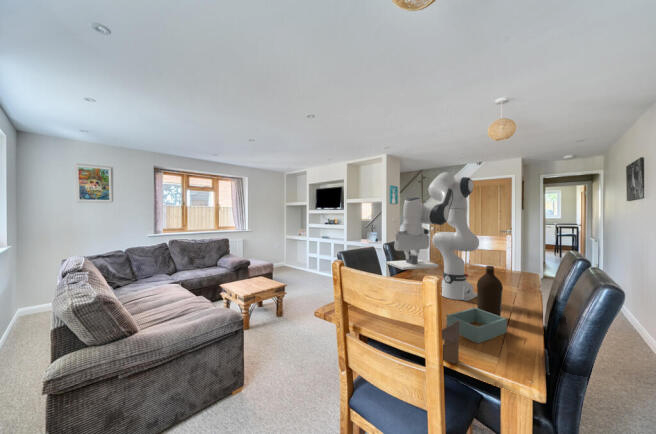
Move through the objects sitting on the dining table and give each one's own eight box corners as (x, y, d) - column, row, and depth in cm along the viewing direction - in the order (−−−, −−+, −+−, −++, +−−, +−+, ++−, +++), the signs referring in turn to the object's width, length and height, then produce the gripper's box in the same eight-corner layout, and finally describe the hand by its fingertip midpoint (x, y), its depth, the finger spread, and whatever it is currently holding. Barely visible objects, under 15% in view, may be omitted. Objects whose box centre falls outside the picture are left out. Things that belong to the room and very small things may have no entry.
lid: (419, 261, 134) (419, 251, 133) (438, 266, 120) (438, 256, 120) (386, 263, 127) (386, 253, 127) (402, 269, 114) (402, 258, 114)
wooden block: (453, 364, 85) (455, 311, 85) (424, 350, 93) (425, 302, 93) (459, 360, 87) (460, 309, 87) (429, 347, 96) (430, 300, 95)
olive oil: (480, 320, 120) (481, 267, 120) (473, 311, 131) (474, 263, 130) (505, 322, 118) (507, 269, 117) (496, 313, 128) (498, 264, 128)
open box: (474, 320, 120) (474, 307, 120) (506, 332, 108) (506, 318, 108) (446, 328, 111) (446, 315, 111) (478, 343, 99) (478, 328, 99)
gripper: (400, 231, 116) (400, 261, 116) (431, 230, 125) (431, 258, 126) (391, 230, 121) (390, 259, 122) (421, 229, 131) (421, 256, 131)
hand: (411, 258), depth 124 cm, fingers closed on lid, 3 cm apart
